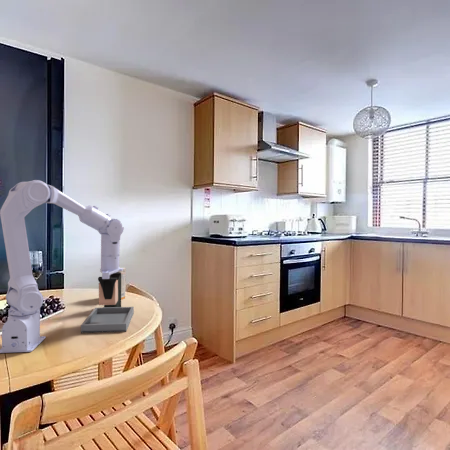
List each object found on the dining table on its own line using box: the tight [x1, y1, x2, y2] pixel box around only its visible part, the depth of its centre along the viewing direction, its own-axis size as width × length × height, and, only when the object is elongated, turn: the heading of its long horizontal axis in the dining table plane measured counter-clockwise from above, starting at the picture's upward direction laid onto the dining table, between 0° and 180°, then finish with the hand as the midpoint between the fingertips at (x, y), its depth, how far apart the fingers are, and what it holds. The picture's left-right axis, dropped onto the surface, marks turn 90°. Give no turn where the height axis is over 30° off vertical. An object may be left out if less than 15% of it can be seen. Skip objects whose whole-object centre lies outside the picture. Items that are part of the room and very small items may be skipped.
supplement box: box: [119, 266, 127, 301], centre depth 135 cm, size 8×5×13 cm, turn 73°
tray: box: [80, 306, 135, 334], centre depth 106 cm, size 18×13×2 cm
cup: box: [98, 280, 118, 306], centre depth 106 cm, size 5×5×7 cm
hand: (109, 296), depth 106 cm, fingers closed on cup, 5 cm apart
